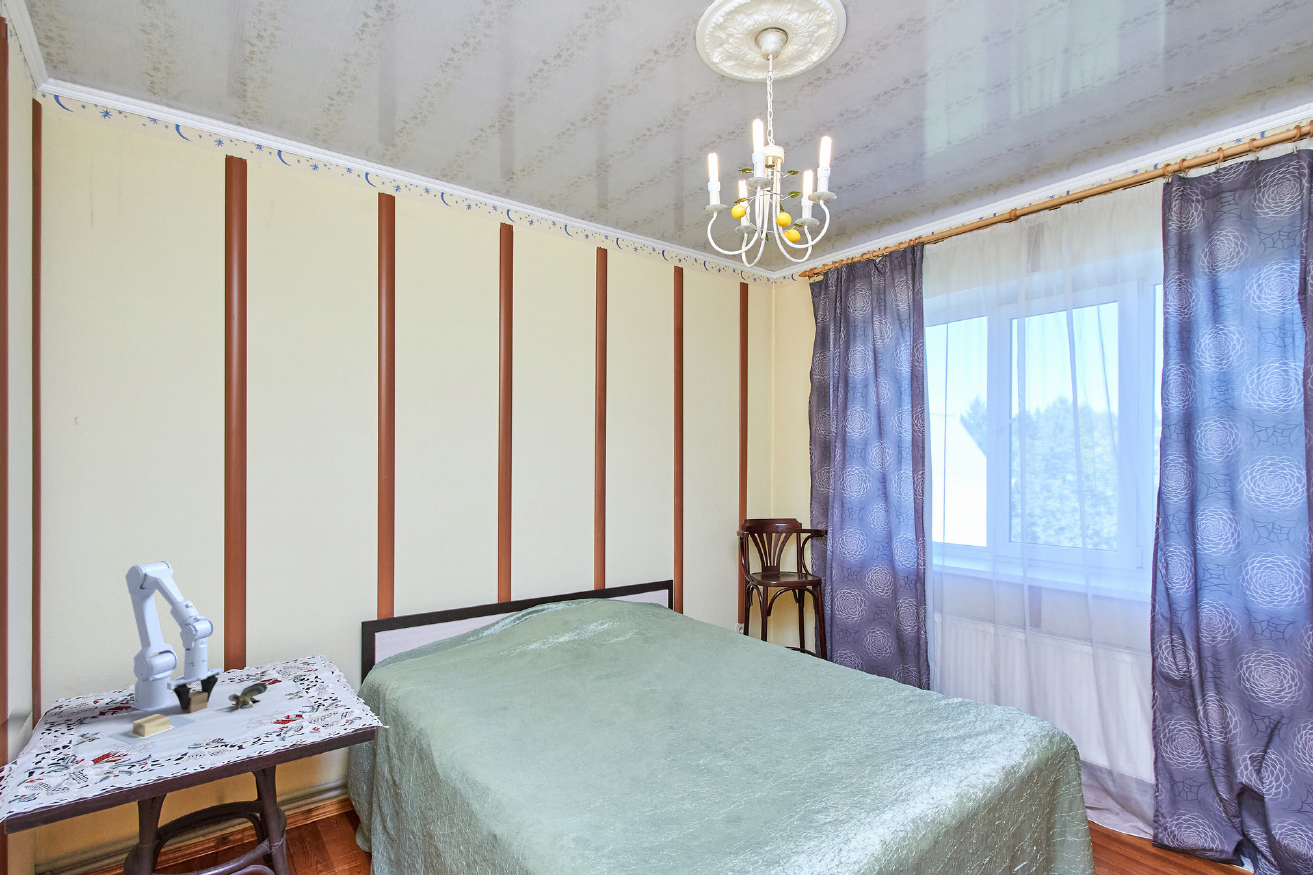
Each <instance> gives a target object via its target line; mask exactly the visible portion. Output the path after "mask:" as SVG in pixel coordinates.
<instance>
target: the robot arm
mask: <svg viewBox="0 0 1313 875" xmlns="http://www.w3.org/2000/svg"><path fill="white" fill-rule="evenodd" d="M174 572H175V571H174V569H173V568H172V566H171V564H170V563H169V562H168V561H165V560H162V561H158V562H152V563H145V564H140V565H138V564H137V565H132V566H131V567H130V568H129V569H128V571H127V573H126V575H125V580H126V586H127V590H128V594H129V596H130V600H131V605H132V609H133V613H134V614H133V615H134V619H135V623H136V626H137V632H138V636H139V641H140V646H141V649H140V650H139V651H138V652H137V653H136V655H135V656H134V657H133V661H134V662H133V663H134V666H133V674H134V676H135V677H136V678H137V681H136V682H135V685H134V699H133V700H134V703H133V704H131V705H130V708H133V709H137V710H141V711H144V712H151V711H153V710H156V709H160V708H163V707H167V706H169V705H173V704H176V703H177V701H176V700H174V699H171V691H173V693H174V694H175V695H176V697H177V700H178V703H179V706H180V709H181V710H187V709H188V697H189V693H191V690H192V689H191V687H188V685H189V684H192V683H193V684H194V683H196V682H200V684H201V691H203V692H207V693H208V698H207V704H208V703H209V700H210V697H211V694H212V692H213V690H214V687H215V686H216V684H217V683H218V681H219V677H216V676H221V675H223V668H222V667H216V668H211V669H208V659H209V658H208V656H209V652H208V651H209V637H210V636H211V635H212V634H213V632H214V625H213V622H212V620H211V619H210V618H207V617H205V616H203V615H201V614H200V612H199V611H198V610H197V608H196V607H195V605H194V604H193V602H192V601H190V600H185V598H184V597H183V595H182V593H181V591H180V589H179V588H178V586H177V584H176V582H175V581H174ZM156 591H158V592H159V594H161V596H162V597H163V598H164V599H165V600H166V602H168V604H169V605H170V607H171V608H170V612H169V613H170V615H171V616H172V618H173V619H174V620H175V622H176V623H177V625H178V626H179V627H180V630H181V631H180V632H179V637H180V640H182V646H183V648H184V664H183V665H184V666H183V667H184V668H183V675H182V676H181V677H179V678H176V679H174V680H171V677H172V676H171V675H172V674H173V673H174V670H175V669H176V668H177V666H178V663H179V658H178V655H177V654H176V652H175V651H174V648H173V645H171V644H169V643H166V642H164V638H163V633H162V629H161V624H160V620H159V615H158V610H157V606H156V605H157V604H156V602H155V596H154V593H155V592H156ZM151 655H152V656H151Z"/></svg>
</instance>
